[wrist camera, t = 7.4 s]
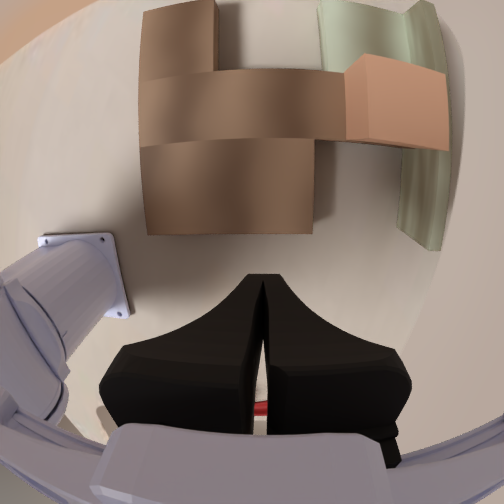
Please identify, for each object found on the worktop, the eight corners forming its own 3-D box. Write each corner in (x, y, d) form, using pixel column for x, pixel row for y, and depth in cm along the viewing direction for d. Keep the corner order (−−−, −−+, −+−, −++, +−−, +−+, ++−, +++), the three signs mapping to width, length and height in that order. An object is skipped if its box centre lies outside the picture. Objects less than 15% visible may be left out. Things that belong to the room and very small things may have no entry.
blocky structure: (157, 226, 20) (128, 250, 15) (153, 21, 14) (125, -5, 9) (407, 227, 19) (440, 251, 14) (403, 26, 13) (433, 4, 8)
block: (346, 139, 15) (368, 138, 11) (344, 71, 14) (364, 53, 10) (415, 148, 15) (448, 151, 11) (413, 84, 13) (445, 74, 10)
